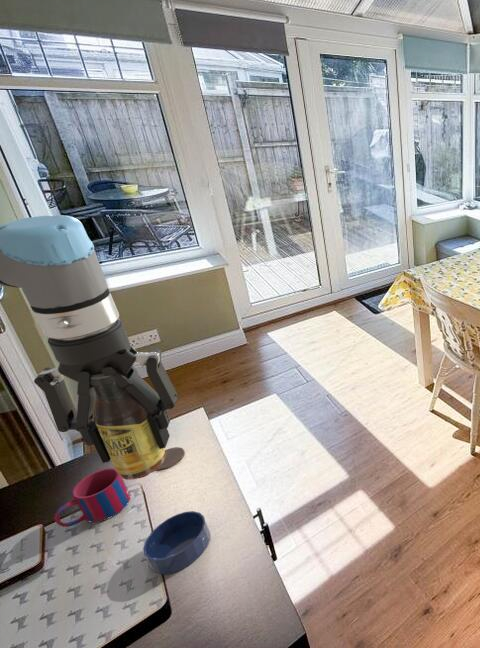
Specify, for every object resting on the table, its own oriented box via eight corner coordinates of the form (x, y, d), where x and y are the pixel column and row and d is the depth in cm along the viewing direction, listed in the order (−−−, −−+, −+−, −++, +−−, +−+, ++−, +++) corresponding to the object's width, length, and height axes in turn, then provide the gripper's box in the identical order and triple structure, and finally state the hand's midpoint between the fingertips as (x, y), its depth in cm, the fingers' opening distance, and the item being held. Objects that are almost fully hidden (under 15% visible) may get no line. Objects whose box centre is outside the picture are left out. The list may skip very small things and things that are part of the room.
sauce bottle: (108, 479, 66) (58, 379, 58) (146, 448, 71) (105, 353, 63) (144, 486, 65) (98, 386, 57) (179, 454, 70) (142, 359, 62)
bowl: (143, 583, 70) (136, 569, 68) (158, 536, 77) (151, 522, 76) (205, 561, 73) (199, 547, 72) (214, 518, 81) (208, 504, 79)
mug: (137, 501, 83) (125, 477, 81) (70, 544, 75) (55, 519, 73) (122, 486, 86) (110, 462, 84) (56, 526, 78) (41, 501, 75)
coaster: (147, 473, 89) (147, 472, 89) (155, 453, 94) (155, 452, 94) (181, 464, 91) (180, 463, 91) (187, 445, 96) (186, 444, 96)
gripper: (-33, 357, 50) (44, 488, 60) (163, 328, 58) (204, 448, 67) (4, 326, 56) (68, 449, 66) (176, 303, 64) (212, 416, 73)
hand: (137, 448), depth 66 cm, fingers closed on sauce bottle, 6 cm apart
